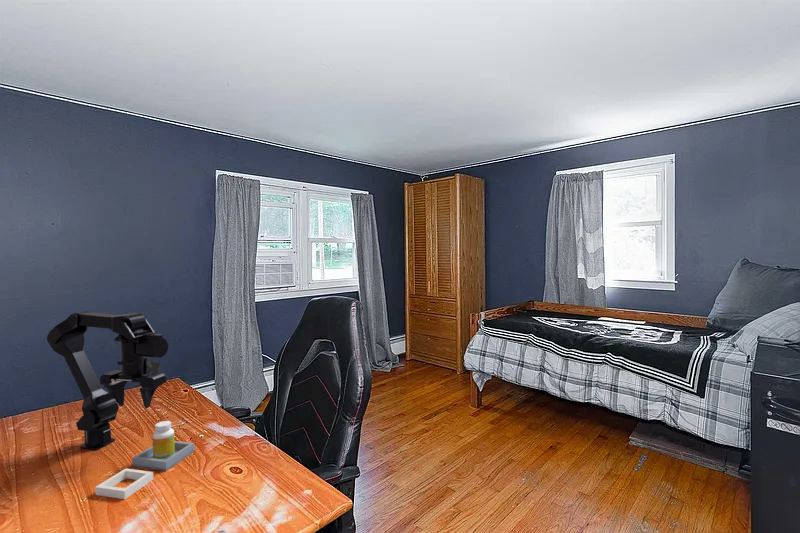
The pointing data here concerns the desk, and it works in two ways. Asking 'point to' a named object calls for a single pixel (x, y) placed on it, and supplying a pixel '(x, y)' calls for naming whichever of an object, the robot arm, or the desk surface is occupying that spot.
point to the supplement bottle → (163, 441)
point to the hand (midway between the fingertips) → (134, 406)
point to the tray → (149, 462)
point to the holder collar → (123, 493)
